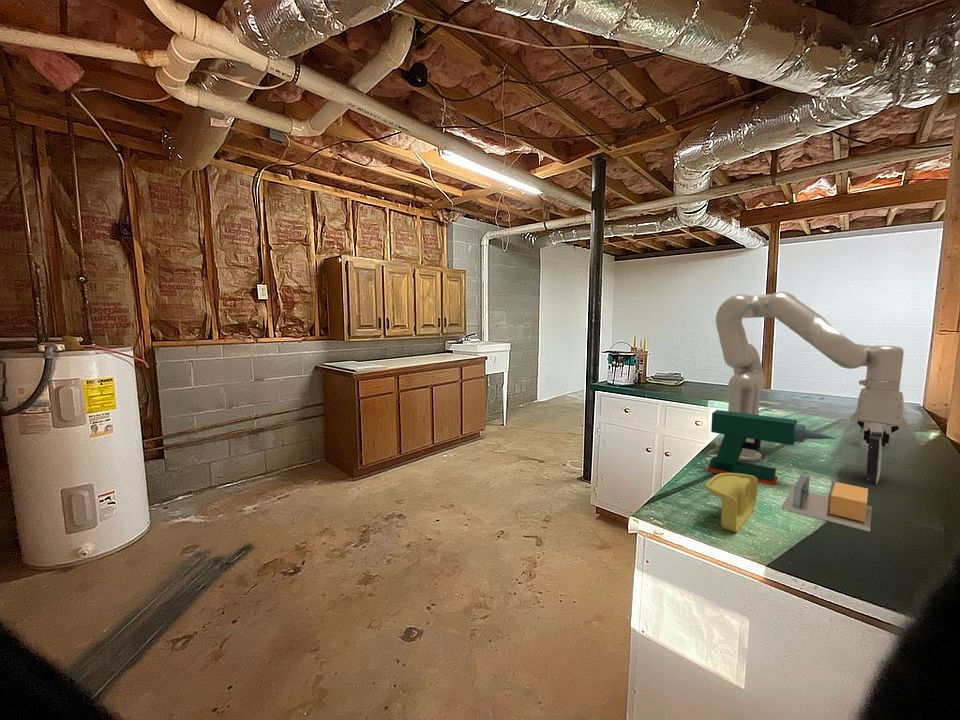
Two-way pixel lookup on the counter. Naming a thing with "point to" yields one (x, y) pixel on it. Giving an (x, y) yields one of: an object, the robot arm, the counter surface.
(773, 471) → the power tool
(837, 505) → the block
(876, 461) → the disk drive
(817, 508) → the vise base
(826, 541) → the counter surface
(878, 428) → the tall white carton
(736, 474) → the plastic component
